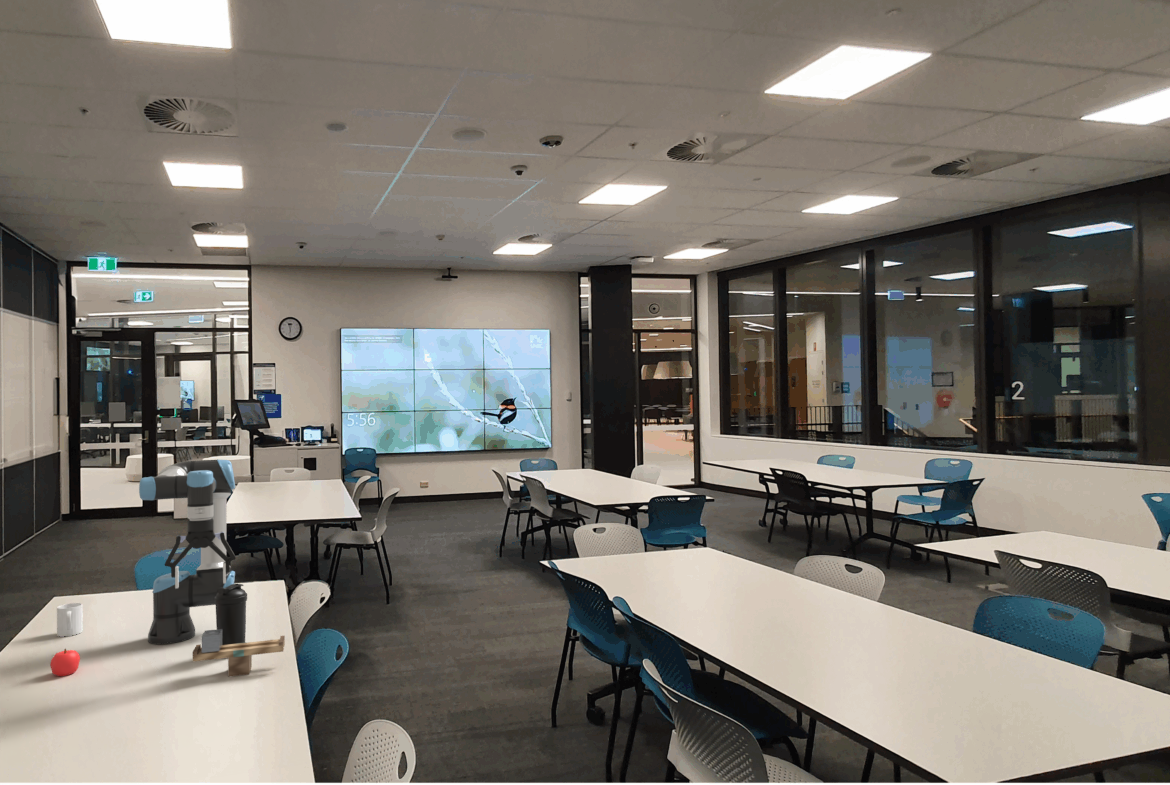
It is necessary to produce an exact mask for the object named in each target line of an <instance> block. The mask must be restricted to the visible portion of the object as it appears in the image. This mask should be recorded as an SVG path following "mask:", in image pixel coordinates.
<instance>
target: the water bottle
mask: <svg viewBox="0 0 1170 785" xmlns="http://www.w3.org/2000/svg"><path fill="white" fill-rule="evenodd" d="M244 586H245V585H244V584H243V583H242V584H241V583H234V584H231V585H230V586H228V587H226V588H218V590H217V594H216V596H215V598H214V603H215V605H214V606H215V620H216V621H215V622H216V623H215V624H216V630H217V629H222V645H229V644H237V643H246V632H247V631H246V628H247V627H246V625H247V601H248V593H247V592H246V591H245V590H244V588H242V587H244Z"/></svg>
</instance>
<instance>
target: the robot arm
mask: <svg viewBox="0 0 1170 785" xmlns="http://www.w3.org/2000/svg"><path fill="white" fill-rule="evenodd" d="M138 484H139V487H138V493H139V498H140V500H142V501H155V500H156V501H159V500H174V499H187V506H186V509H187V510H186V512H187V513H186V515H187V517H186V518H187V519H188V521H187V526H186V527H187V528H186V529H187V533H186V535H181V534H177V536H176V538H175V544H174V546H173V547H172V549H171V551H170V553H169V554H168V557H167V558H166V561H165V563H164V566H165V567H169V568H170V573H166V574H162V575H160V576H159V577H156V579H155V580H154V581H153V586H152V595H153V596H152V600H153V603H152V604H153V605H152V607H153V610H152V612H153V613H152V614H153V617H152V618H153V619H152V622H151V625H150V628H149V630H148V633H147V642H148V643H149V644H154V645H165V644H166V645H168V644H175V643H179V642H183V641H187V640H190V639H192V638H194V637H195V636H196V627H195V625H194V624H195V623H194V621H193V619H192V617H191V614H190V610H191V609H190V608H196V607H197V608H198V607H206V606H216V605H215V603H214V598H215V596H216V594H217V590H218V588H226V587H228V586H230V585H231V584H235V576H236V571H234V570H231V569H232V567H231V565H230V564H231V562H232V561H235V560H236V555H235V553H234V551H233V550H232V549H233V548H232V547H231V546H230V545H229V542H228V541H227V507H228V506H227V499H228V498H229V497H230V496H231V495H232V491H233V490H235V488H236V483H235V475H234V469H233V464H232V462H231V461H230V460H229V459H204V460H201V459H200V460H185V461H180V462H177V463H173V464H170V465H167V466H166V467H165V468H162V469H161V471H160V472H159V474H158V475H157V476H148V477H146V476H145V477H142V478H140V480H139V483H138ZM184 541H186V542H187V543H188V545H187V546H185V548H184V549H183V551H182V552H181V553H180V554H179V555H178V556H177V557H176V558H175V559H174V561H173V562H172V560H173V558H174V556H175V555H176V552H177V550H178V548H179V546H180V544H181V543H183V542H184ZM192 548H193V549H200V565H199V566H198V567H197V568H196V570H195V574H191V573H190V571H188V570H179V569H180V568H179V565H178V564H179V563H180V561H182V560H183V558H185V556H186V555H187V554H188V553H189V551H191V550H192ZM227 553H228V555H229V556H228V555H227Z"/></svg>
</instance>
